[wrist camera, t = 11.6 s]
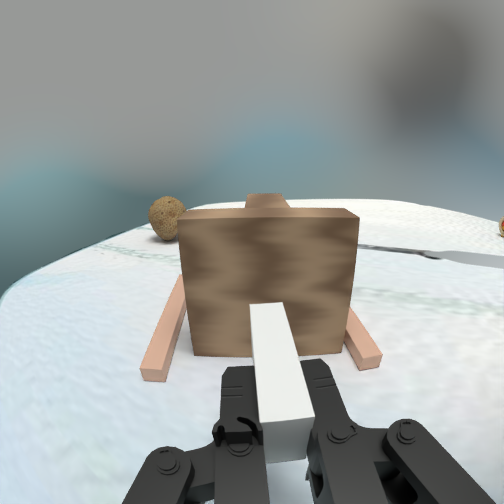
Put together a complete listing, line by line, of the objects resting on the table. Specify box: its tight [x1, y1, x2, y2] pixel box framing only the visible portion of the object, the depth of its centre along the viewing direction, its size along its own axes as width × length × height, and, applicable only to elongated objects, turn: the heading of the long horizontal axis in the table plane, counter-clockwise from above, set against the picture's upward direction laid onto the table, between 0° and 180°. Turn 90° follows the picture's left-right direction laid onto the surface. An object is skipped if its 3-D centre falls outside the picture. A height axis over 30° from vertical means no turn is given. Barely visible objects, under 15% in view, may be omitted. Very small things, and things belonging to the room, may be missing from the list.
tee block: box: [177, 194, 360, 357], centre depth 29 cm, size 14×14×13 cm
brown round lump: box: [148, 196, 187, 241], centre depth 61 cm, size 9×9×10 cm
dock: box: [140, 275, 383, 382], centre depth 31 cm, size 21×20×2 cm
